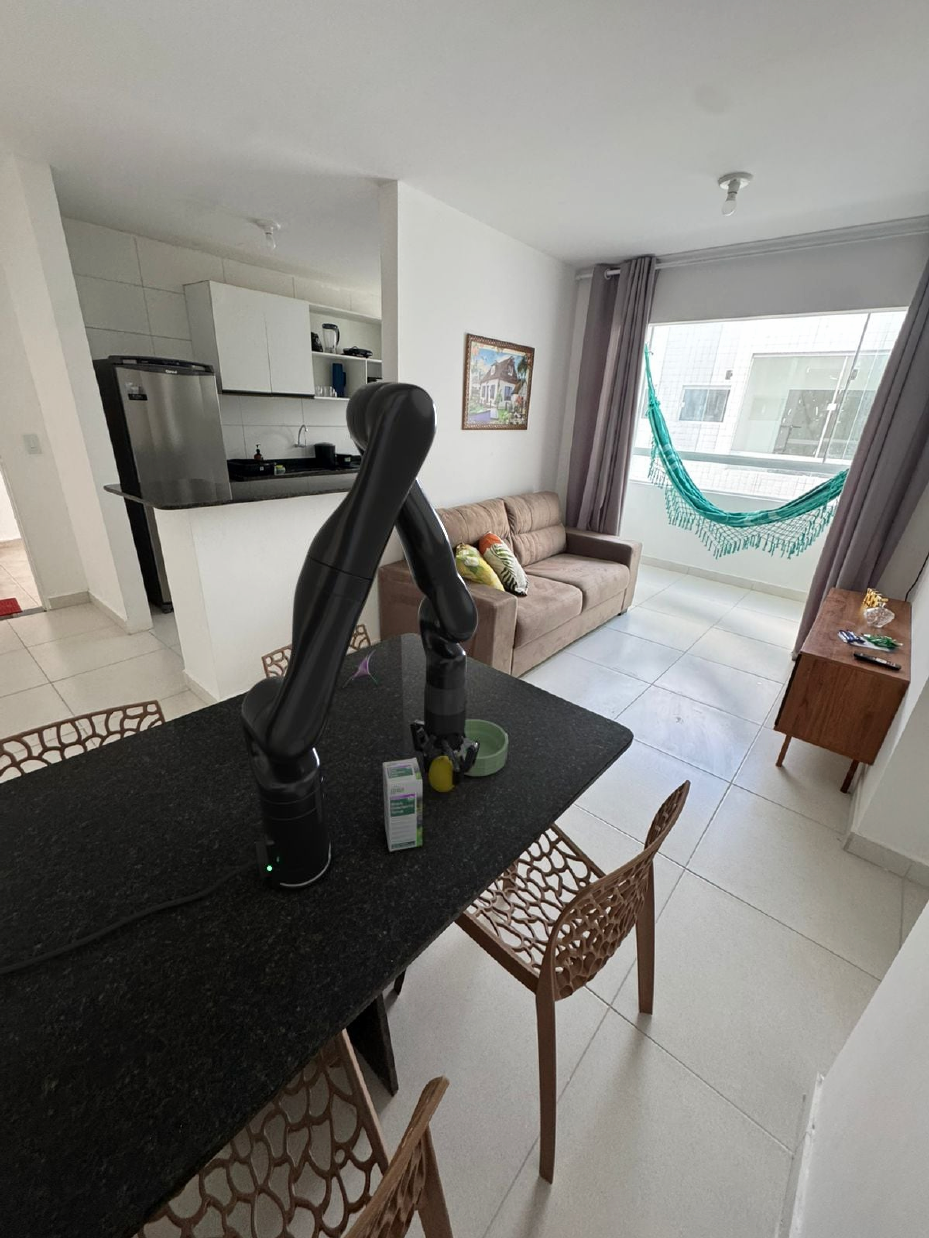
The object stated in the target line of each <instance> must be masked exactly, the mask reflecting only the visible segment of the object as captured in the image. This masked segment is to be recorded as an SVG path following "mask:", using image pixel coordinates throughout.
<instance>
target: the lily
mask: <svg viewBox="0 0 929 1238" xmlns="http://www.w3.org/2000/svg"><path fill="white" fill-rule="evenodd" d="M374 652H375V650H373V651H372V652H371V654H369V655H368V654H367V655H366V656H365V657H364V658H363V659H362V661H361V662H360V663H359V665H358V664H357V663H356V664H354V666H355V667H356V668H358V669H357V672H356V673H355V674H353V675H352V676H350V678H349V679H348V680H347V681H346V683H345V684H344V686H343V687H342V688H343V689H344V687H345V686H347V684H348V683H349V681H350V680H352V681H353V680H354V679H355V678H356V677H360V676H365V675H367V676H369V677H370V678H371V679H372V680H373V682H374V683H375V684H376V686H379V684H378V682H377V680H376V679H375V678H374V677H373V675H371V673H370V672H369V660H370V658H371V656H372V655H373V653H374Z"/></svg>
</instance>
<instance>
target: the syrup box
mask: <svg viewBox="0 0 929 1238" xmlns="http://www.w3.org/2000/svg"><path fill="white" fill-rule="evenodd" d="M382 785H383V787H382V789H383V808H384V809H383V811H384V828H385V829H384V830H385V834H386V841H387V848H388V851H389V852H390V853H391V852H394V851H399V850H404V849H405V850H406V849H410V848H411V849H412V848H416V847H422V846H423V778H422V773H421V771H420V766H419V763H418V760H417V757H412V758H408V759H397V760H392V761H385V762H382Z"/></svg>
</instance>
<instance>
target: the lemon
mask: <svg viewBox="0 0 929 1238" xmlns="http://www.w3.org/2000/svg"><path fill="white" fill-rule="evenodd" d="M453 769H454V767H453V764H452V761H449V759H448V757H447V756H444V755H440V756H437V757H435V758H434V761H433V762H432V763H431V766H430V769H429V774H428V781H429V784H430V786H431V787H432V788H433V789H434V790H435V791H436V792H439V793H447V792H449V791H451V790H453V789H454V788H455V787H456V786H455V785H453Z"/></svg>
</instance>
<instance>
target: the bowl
mask: <svg viewBox="0 0 929 1238" xmlns="http://www.w3.org/2000/svg"><path fill="white" fill-rule="evenodd" d="M464 731H465V734H466V738H467V739H469V740H471V741H473V742H474V741H475V740H478V741H479V742H480V747H479V751H478V754H477V758H476V761H475V765H474V766H472V768H471V769H470V770H469V771H468V772H467V773H465V772H464V776H465V775H466V776H469V777H487V776H489V775H492V774H495V773H497V772H499V770H501V769H502V768H503V767H504V766H505V765H506V761H507V760H508V750H509V749H508V748H509V738H508V734H507V733H506V732H505V730H504V729H503V728H502V727H501V726H500V725H498V724H496V723H494V722H492V721H488V720H484V719H479V718H478V719H477V718H476V719H474V718H473V719H469V718H468V719H466V724H465V729H464ZM462 746H463V749H464V753H463V754H464V757H466V753H465V746H464V745H463V744H462ZM455 751H456V750H455ZM455 751H454V752H455ZM443 756H447V753H445V752H444V751H443ZM447 757H448V756H447ZM458 761H459V760H458Z"/></svg>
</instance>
